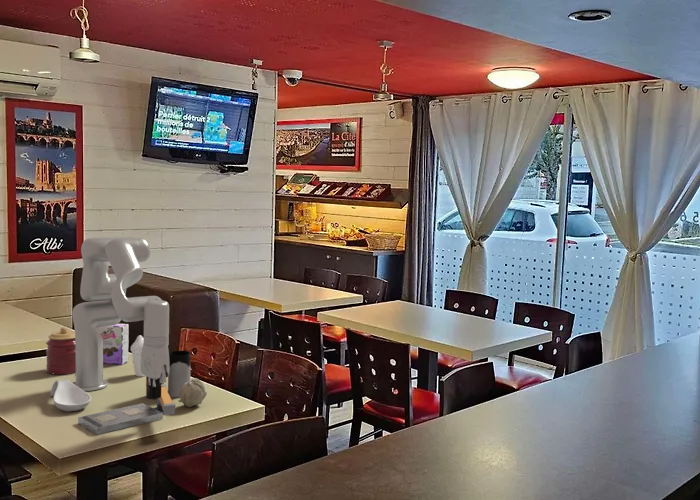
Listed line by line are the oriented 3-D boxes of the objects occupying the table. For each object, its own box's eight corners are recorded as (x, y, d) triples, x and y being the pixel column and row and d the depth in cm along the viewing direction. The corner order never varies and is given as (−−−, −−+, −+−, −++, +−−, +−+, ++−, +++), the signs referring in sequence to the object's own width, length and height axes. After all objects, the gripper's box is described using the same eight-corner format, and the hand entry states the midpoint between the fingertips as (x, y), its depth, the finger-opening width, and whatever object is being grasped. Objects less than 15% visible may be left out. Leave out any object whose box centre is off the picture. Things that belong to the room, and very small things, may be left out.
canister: (73, 375, 266) (73, 331, 264) (40, 374, 266) (39, 330, 264) (86, 367, 279) (86, 324, 277) (55, 366, 279) (54, 323, 277)
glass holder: (166, 397, 242) (166, 356, 240) (168, 386, 256) (168, 346, 254) (191, 396, 244) (191, 355, 242) (192, 385, 257) (192, 346, 256)
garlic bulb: (206, 402, 238) (206, 374, 237) (206, 410, 230) (206, 381, 229) (178, 403, 236) (178, 375, 235) (177, 411, 228) (178, 382, 227)
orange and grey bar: (163, 415, 204) (163, 406, 204) (154, 392, 227) (154, 383, 226) (175, 414, 206) (175, 405, 205) (165, 391, 228) (165, 383, 228)
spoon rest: (96, 410, 226) (96, 389, 226) (59, 417, 219) (59, 395, 218) (73, 393, 244) (73, 373, 244) (38, 398, 237) (38, 378, 236)
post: (147, 411, 226) (147, 393, 226) (163, 407, 231) (164, 389, 230) (157, 416, 222) (157, 397, 222) (173, 412, 226) (173, 394, 226)
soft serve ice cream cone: (156, 374, 270) (156, 335, 269) (140, 379, 263) (140, 338, 262) (142, 371, 275) (142, 332, 273) (125, 375, 268) (125, 335, 266)
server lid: (78, 423, 213) (78, 416, 213) (142, 408, 229) (142, 402, 228) (97, 434, 204) (97, 427, 204) (162, 418, 220) (162, 411, 219)
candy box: (91, 362, 285) (91, 324, 284) (99, 359, 291) (98, 321, 290) (122, 365, 283) (122, 326, 282) (129, 361, 289) (129, 323, 287)
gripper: (133, 337, 213) (132, 394, 215) (157, 347, 203) (156, 406, 205) (154, 334, 219) (153, 389, 220) (179, 343, 208) (178, 401, 210)
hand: (155, 397), depth 213 cm, fingers closed
